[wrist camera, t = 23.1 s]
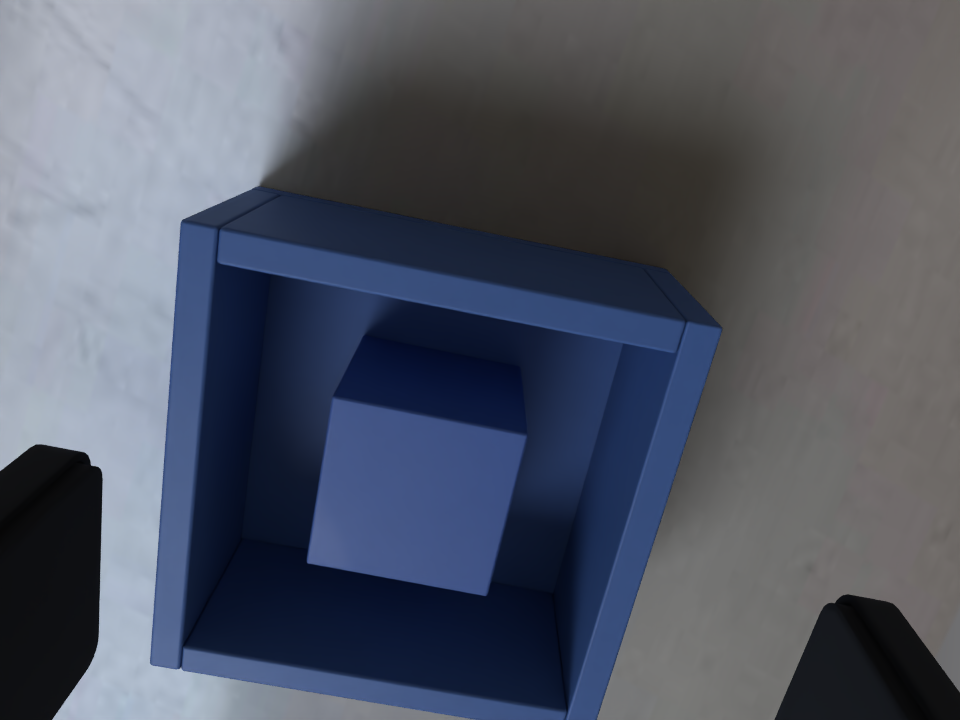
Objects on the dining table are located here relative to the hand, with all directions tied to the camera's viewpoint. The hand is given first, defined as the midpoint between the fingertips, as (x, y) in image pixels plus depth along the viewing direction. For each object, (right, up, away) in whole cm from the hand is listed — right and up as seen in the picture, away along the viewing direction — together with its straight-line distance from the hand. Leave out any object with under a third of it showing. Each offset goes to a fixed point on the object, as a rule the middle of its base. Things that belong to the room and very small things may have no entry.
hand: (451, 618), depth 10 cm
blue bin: (-1, +2, +13) cm, 14 cm away
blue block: (-1, +2, +13) cm, 13 cm away
